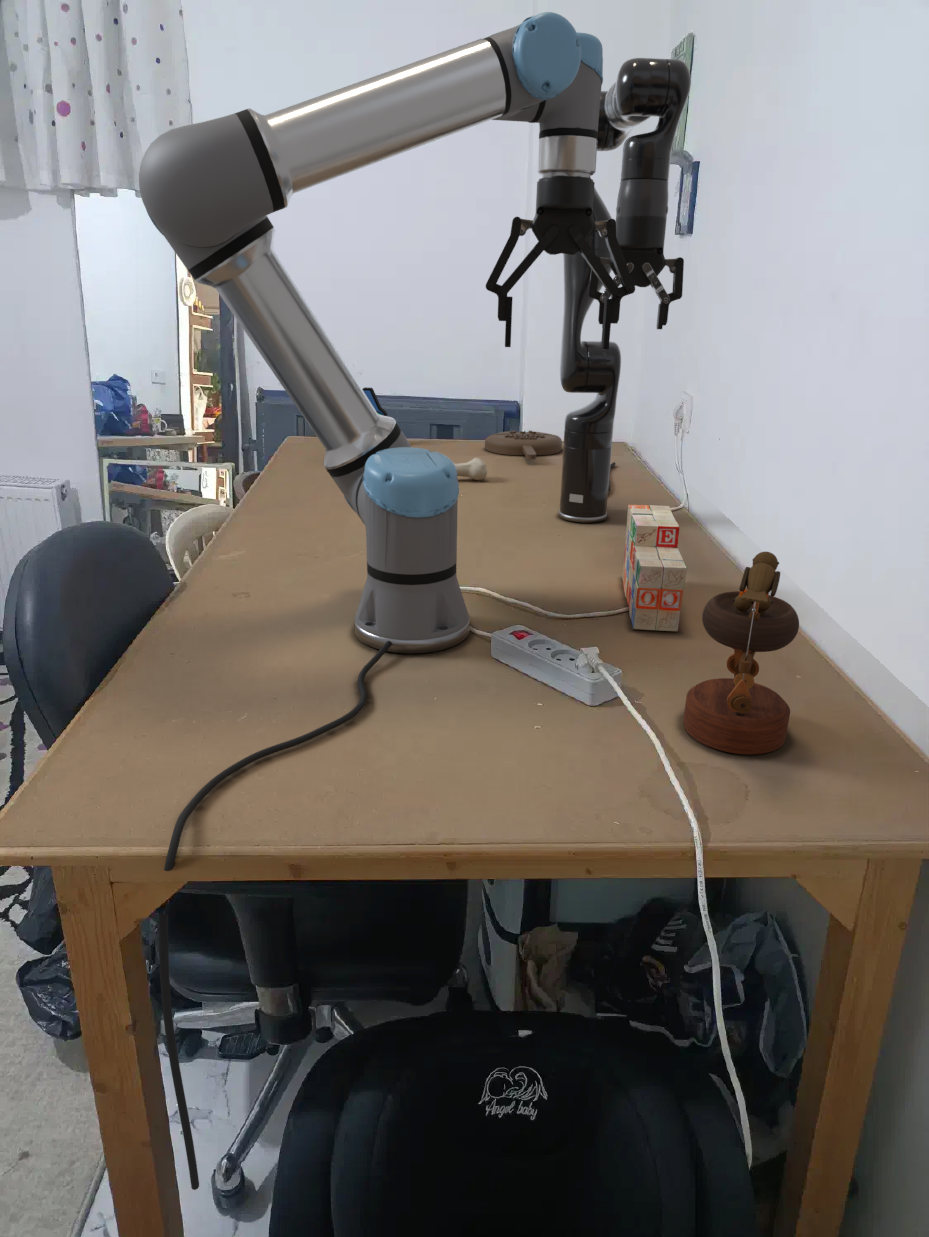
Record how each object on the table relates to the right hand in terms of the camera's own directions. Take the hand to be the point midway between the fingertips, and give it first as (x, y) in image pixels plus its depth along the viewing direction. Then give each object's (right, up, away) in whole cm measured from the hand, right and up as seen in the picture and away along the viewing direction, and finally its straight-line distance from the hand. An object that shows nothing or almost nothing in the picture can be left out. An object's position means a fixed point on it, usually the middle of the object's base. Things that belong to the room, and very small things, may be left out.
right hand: (631, 328), depth 133 cm
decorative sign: (-53, +2, +101) cm, 114 cm away
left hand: (-14, -8, -15) cm, 22 cm away
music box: (+2, -57, -43) cm, 72 cm away
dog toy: (-31, -14, +62) cm, 71 cm away
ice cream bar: (-10, -2, +91) cm, 92 cm away
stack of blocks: (+1, -44, -9) cm, 45 cm away
